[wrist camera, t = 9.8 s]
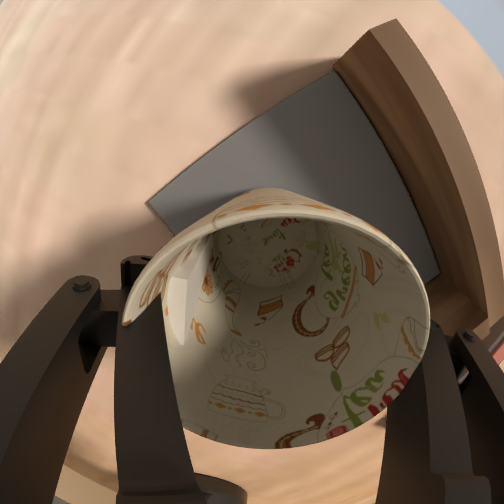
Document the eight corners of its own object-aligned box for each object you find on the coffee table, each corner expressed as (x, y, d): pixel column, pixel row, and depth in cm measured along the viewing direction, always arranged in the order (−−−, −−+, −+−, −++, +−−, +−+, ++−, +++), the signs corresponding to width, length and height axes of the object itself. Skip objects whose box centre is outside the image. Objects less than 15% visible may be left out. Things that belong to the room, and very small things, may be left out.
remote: (412, 424, 24) (418, 440, 21) (391, 417, 23) (397, 434, 21) (517, 318, 18) (530, 330, 16) (506, 299, 18) (521, 312, 15)
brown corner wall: (285, 382, 21) (290, 445, 15) (133, 208, 16) (79, 242, 10) (459, 275, 17) (506, 318, 11) (352, 55, 12) (396, 18, 7)
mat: (287, 362, 20) (287, 366, 19) (150, 200, 16) (148, 202, 16) (437, 270, 17) (439, 272, 17) (332, 72, 13) (334, 70, 13)
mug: (266, 132, 14) (284, 113, 5) (403, 282, 17) (486, 390, 8) (165, 242, 16) (77, 359, 7) (310, 358, 19) (333, 485, 10)
